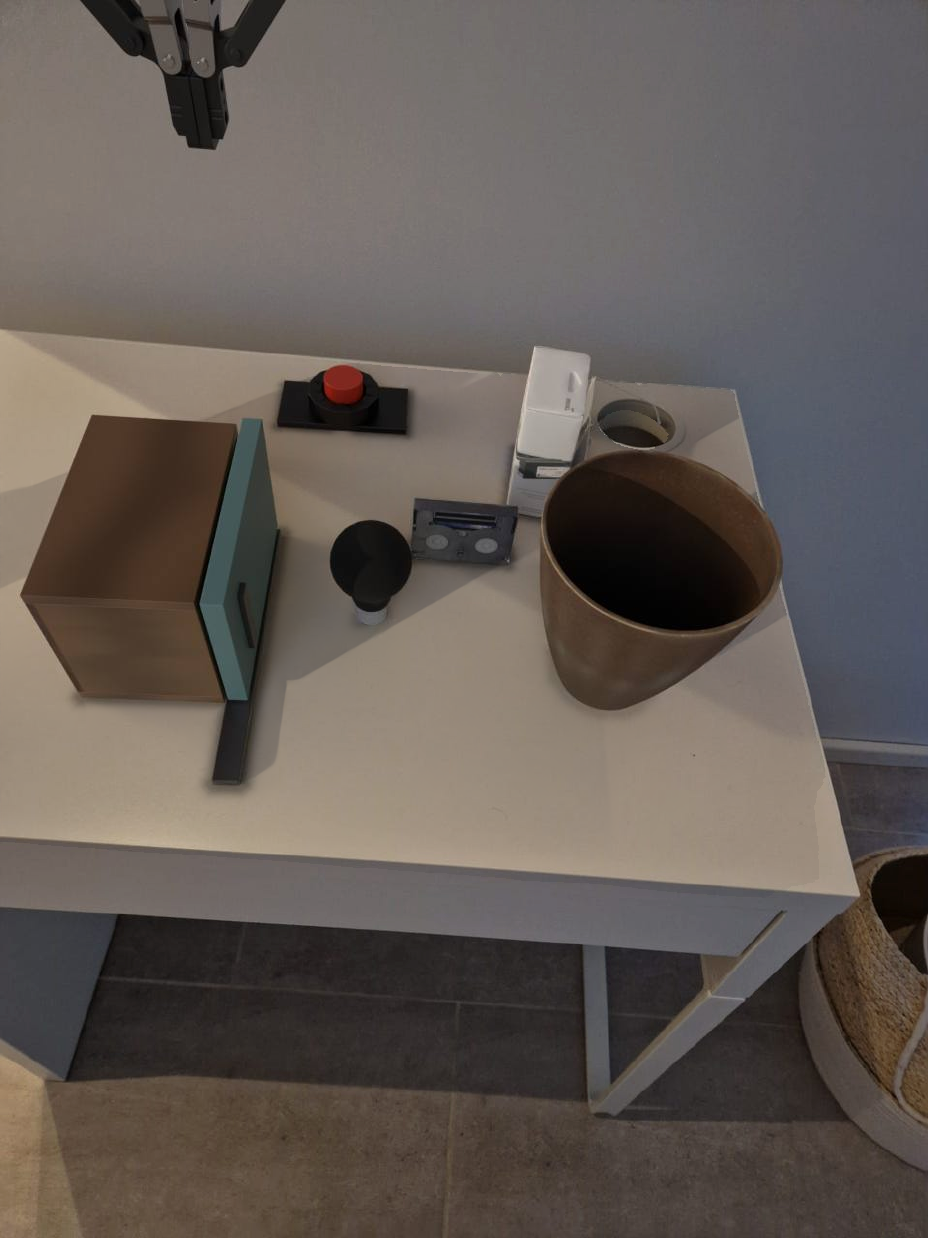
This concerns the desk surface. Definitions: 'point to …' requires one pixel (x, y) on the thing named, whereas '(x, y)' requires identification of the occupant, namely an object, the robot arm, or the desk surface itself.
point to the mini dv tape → (463, 531)
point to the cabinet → (142, 569)
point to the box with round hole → (586, 440)
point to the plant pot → (649, 572)
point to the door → (241, 562)
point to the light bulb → (371, 566)
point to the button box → (343, 408)
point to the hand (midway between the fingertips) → (205, 142)
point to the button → (343, 384)
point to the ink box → (548, 426)
